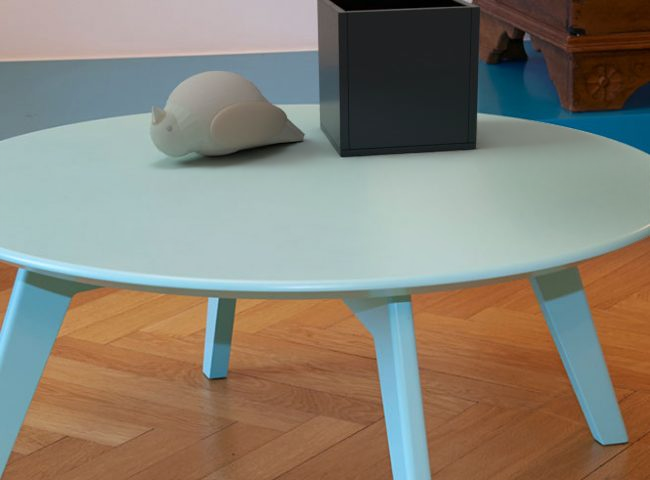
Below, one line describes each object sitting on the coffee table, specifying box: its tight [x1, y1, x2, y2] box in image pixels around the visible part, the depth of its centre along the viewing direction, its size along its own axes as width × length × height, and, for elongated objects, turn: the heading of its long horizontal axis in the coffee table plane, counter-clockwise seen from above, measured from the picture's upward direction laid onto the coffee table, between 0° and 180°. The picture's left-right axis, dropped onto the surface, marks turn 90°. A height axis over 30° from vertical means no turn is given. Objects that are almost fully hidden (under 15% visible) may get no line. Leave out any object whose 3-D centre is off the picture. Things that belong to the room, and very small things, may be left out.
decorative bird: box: [149, 70, 306, 158], centre depth 103 cm, size 9×16×8 cm, turn 134°
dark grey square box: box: [316, 0, 481, 158], centre depth 106 cm, size 13×13×13 cm
